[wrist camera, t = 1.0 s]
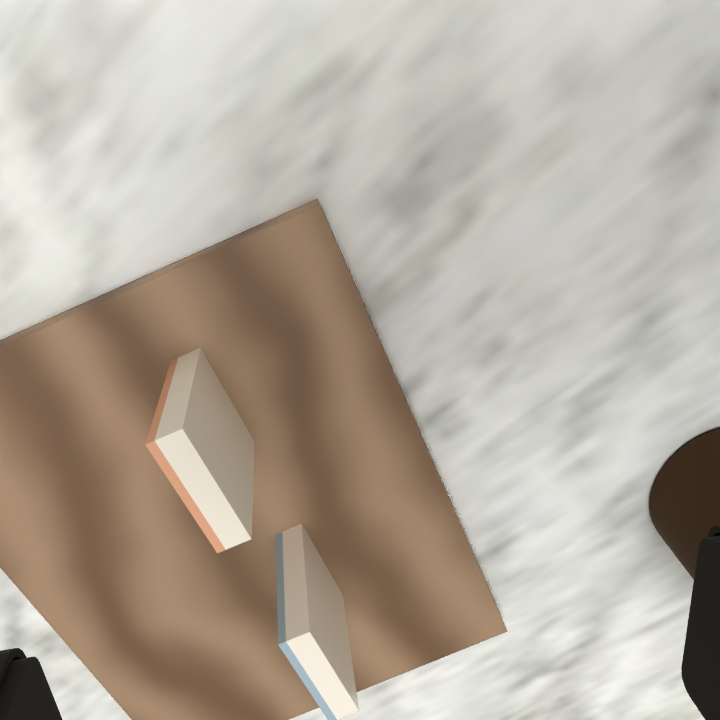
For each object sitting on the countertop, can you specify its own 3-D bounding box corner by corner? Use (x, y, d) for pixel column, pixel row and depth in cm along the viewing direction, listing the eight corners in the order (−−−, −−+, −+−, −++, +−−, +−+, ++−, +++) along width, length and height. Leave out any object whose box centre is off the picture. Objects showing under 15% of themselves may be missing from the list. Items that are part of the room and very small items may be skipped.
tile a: (200, 347, 34) (182, 428, 27) (254, 441, 36) (251, 538, 29) (171, 360, 34) (145, 444, 27) (227, 453, 36) (217, 553, 29)
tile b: (301, 523, 39) (309, 631, 32) (342, 595, 41) (359, 710, 34) (275, 534, 39) (278, 644, 32) (318, 605, 42) (329, 722, 34)
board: (317, 198, 33) (319, 205, 32) (500, 614, 46) (507, 631, 44) (-121, 394, 34) (-137, 408, 33) (175, 745, 47) (172, 766, 46)
